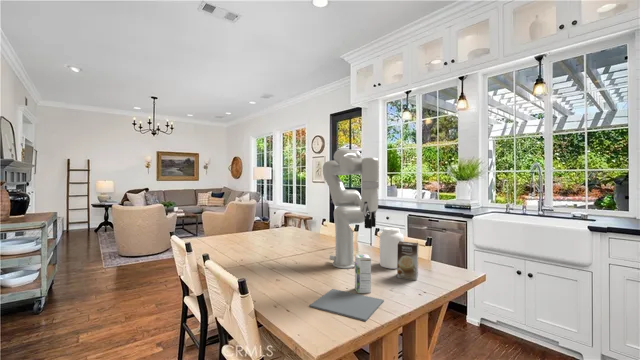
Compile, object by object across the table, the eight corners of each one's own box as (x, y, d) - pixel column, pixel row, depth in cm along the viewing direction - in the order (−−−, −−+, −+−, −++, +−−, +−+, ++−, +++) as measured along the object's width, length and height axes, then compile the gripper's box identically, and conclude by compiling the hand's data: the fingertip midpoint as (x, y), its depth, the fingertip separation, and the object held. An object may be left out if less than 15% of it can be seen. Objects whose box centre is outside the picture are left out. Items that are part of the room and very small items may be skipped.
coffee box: (396, 277, 138) (396, 243, 138) (399, 273, 144) (398, 241, 144) (417, 280, 135) (417, 245, 134) (418, 276, 140) (418, 242, 140)
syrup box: (354, 288, 126) (354, 254, 126) (368, 287, 126) (368, 253, 126) (357, 293, 120) (357, 257, 120) (371, 293, 120) (371, 257, 120)
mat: (309, 306, 108) (309, 304, 108) (332, 290, 124) (332, 288, 124) (366, 321, 97) (366, 319, 97) (383, 301, 112) (383, 299, 112)
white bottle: (406, 264, 159) (406, 227, 159) (399, 270, 149) (399, 231, 149) (384, 261, 166) (384, 225, 166) (376, 266, 156) (376, 228, 155)
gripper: (368, 185, 139) (368, 224, 139) (354, 186, 125) (354, 229, 125) (384, 185, 135) (384, 225, 135) (371, 186, 121) (371, 231, 121)
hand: (370, 226), depth 130 cm, fingers open, 3 cm apart
